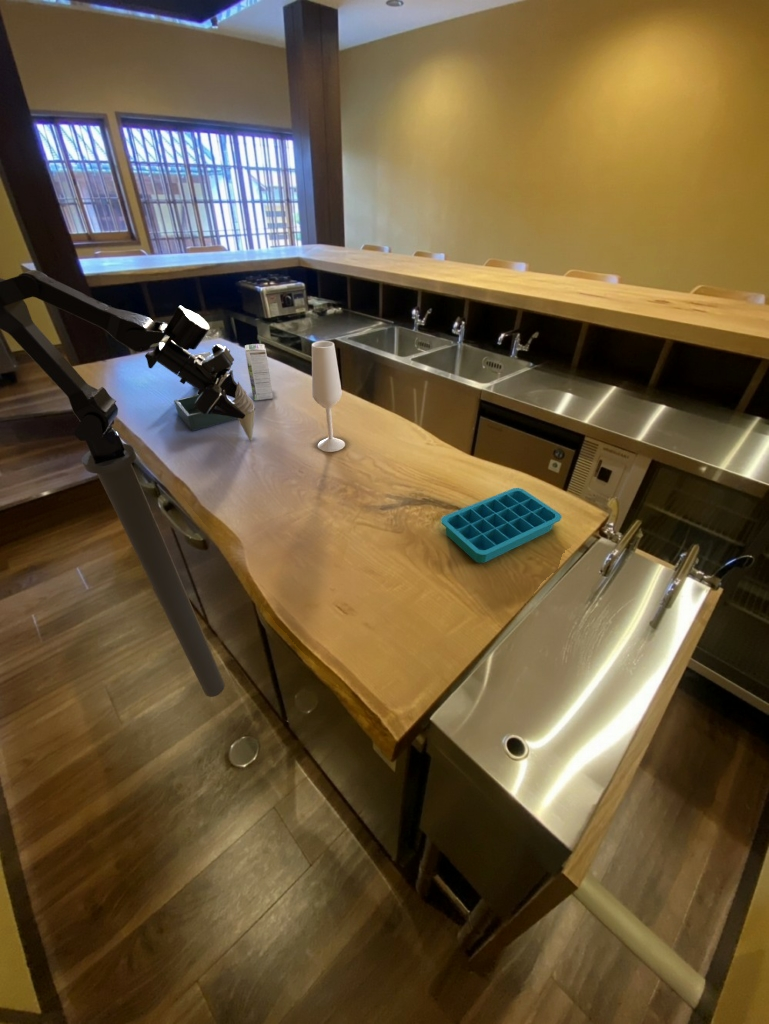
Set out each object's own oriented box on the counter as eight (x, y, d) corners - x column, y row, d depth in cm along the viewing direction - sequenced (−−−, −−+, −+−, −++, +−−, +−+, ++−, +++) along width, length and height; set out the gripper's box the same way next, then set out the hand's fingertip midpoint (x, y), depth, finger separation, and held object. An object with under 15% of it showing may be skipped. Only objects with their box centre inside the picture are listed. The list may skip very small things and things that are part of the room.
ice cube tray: (436, 531, 78) (437, 518, 77) (515, 498, 87) (518, 486, 85) (478, 569, 71) (480, 556, 69) (560, 529, 79) (565, 517, 77)
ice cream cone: (252, 433, 109) (240, 376, 100) (265, 439, 106) (254, 381, 97) (236, 440, 106) (222, 382, 96) (248, 447, 103) (235, 387, 94)
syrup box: (252, 393, 129) (243, 344, 120) (272, 391, 131) (264, 343, 122) (253, 401, 125) (244, 350, 116) (274, 398, 126) (266, 348, 117)
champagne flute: (350, 445, 104) (345, 344, 89) (328, 454, 100) (318, 351, 86) (334, 435, 108) (326, 337, 93) (312, 444, 104) (300, 343, 90)
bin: (192, 431, 110) (187, 416, 107) (178, 414, 118) (173, 400, 115) (239, 418, 116) (235, 404, 113) (222, 403, 124) (219, 389, 121)
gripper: (195, 350, 83) (263, 400, 91) (212, 325, 97) (269, 370, 105) (166, 391, 87) (233, 435, 95) (186, 361, 101) (243, 402, 109)
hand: (246, 408), depth 101 cm, fingers open, 9 cm apart
